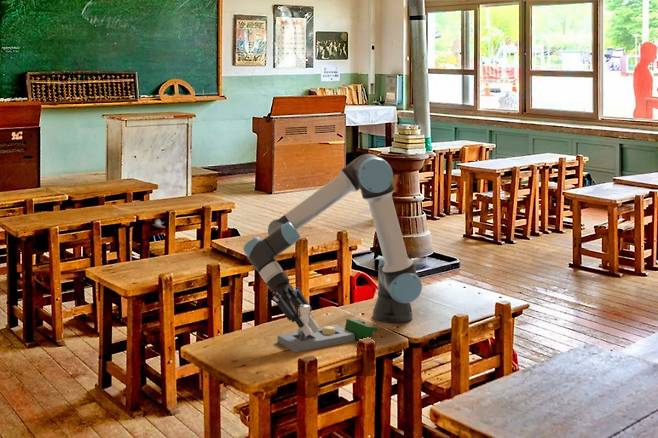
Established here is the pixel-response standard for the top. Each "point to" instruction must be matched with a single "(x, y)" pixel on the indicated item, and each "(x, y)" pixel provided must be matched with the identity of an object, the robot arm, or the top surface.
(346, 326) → the green angular block
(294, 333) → the bolt plate
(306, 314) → the peg
